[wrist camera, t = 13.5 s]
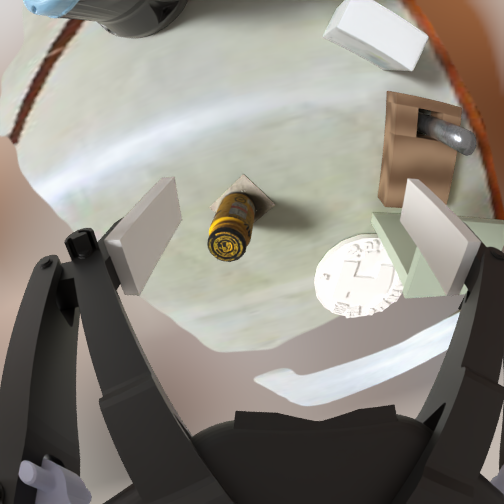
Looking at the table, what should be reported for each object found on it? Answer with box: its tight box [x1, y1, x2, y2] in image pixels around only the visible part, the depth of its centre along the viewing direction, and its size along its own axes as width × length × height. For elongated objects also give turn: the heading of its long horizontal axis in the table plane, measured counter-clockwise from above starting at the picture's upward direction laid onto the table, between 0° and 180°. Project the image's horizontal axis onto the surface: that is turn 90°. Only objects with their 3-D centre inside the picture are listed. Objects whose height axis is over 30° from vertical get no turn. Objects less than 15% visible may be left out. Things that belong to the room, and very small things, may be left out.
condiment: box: [208, 174, 275, 262], centre depth 42 cm, size 7×8×12 cm
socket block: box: [378, 91, 462, 208], centre depth 36 cm, size 18×12×4 cm, turn 3°
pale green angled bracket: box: [371, 212, 504, 298], centre depth 35 cm, size 11×14×19 cm
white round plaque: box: [314, 234, 404, 318], centre depth 52 cm, size 20×20×3 cm
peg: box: [417, 112, 476, 156], centre depth 30 cm, size 3×3×14 cm
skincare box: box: [323, 0, 429, 71], centre depth 25 cm, size 10×6×10 cm, turn 69°
